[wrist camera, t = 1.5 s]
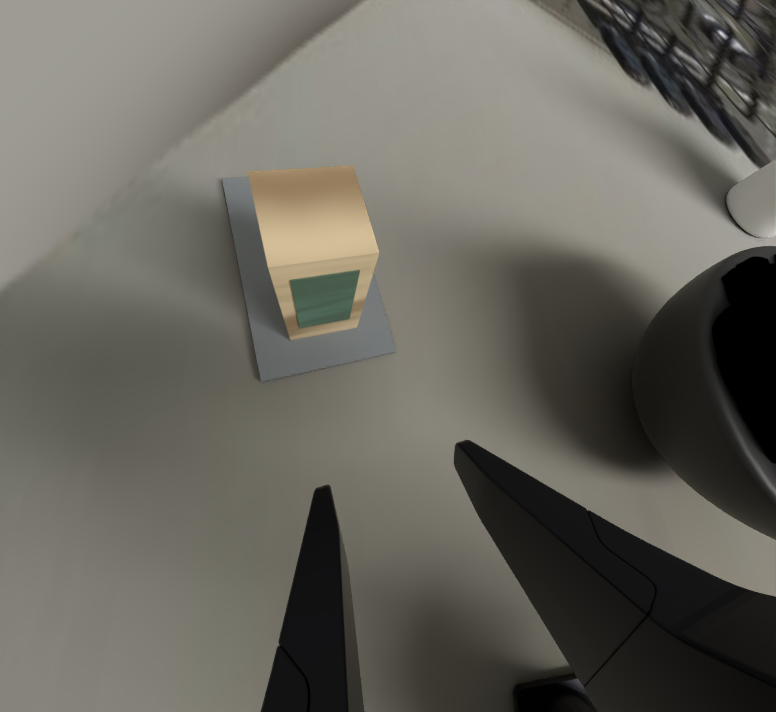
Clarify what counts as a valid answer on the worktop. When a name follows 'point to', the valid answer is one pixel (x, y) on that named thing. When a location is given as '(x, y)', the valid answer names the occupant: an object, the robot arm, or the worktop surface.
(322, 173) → the letter block
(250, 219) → the slate mat
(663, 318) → the coal bowl
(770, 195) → the milk bottle
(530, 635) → the worktop surface
